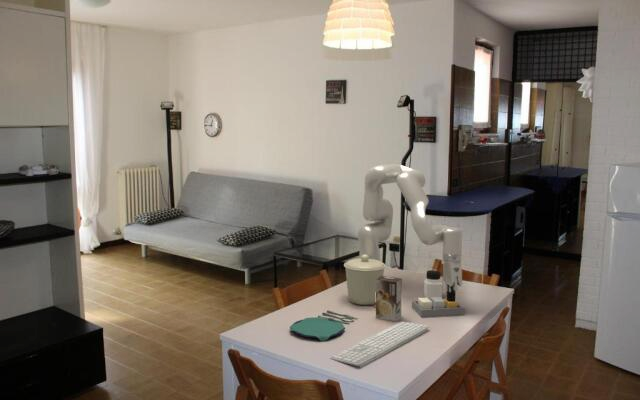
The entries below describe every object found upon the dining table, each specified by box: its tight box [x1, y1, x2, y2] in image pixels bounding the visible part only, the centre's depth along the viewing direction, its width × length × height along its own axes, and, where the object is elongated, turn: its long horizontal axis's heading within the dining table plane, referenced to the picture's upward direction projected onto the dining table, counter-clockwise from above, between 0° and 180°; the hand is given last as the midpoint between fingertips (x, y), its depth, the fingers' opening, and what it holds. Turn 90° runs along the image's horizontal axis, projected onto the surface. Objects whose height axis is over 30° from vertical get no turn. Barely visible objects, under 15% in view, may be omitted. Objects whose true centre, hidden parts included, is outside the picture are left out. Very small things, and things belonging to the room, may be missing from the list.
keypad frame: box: [411, 299, 465, 318], centre depth 231 cm, size 18×12×3 cm, turn 99°
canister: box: [343, 254, 387, 306], centre depth 242 cm, size 18×18×21 cm
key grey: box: [430, 297, 445, 309], centre depth 230 cm, size 4×6×3 cm
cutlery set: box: [289, 309, 359, 342], centre depth 213 cm, size 20×30×2 cm, turn 146°
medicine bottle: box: [423, 269, 444, 300], centre depth 249 cm, size 7×7×12 cm
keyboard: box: [329, 321, 430, 368], centre depth 198 cm, size 44×12×2 cm, turn 139°
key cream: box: [417, 297, 432, 309], centre depth 229 cm, size 4×6×3 cm
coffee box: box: [375, 275, 403, 322], centre depth 223 cm, size 9×6×16 cm
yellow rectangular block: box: [442, 298, 459, 308], centre depth 231 cm, size 4×6×3 cm
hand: (450, 300), depth 231 cm, fingers closed
